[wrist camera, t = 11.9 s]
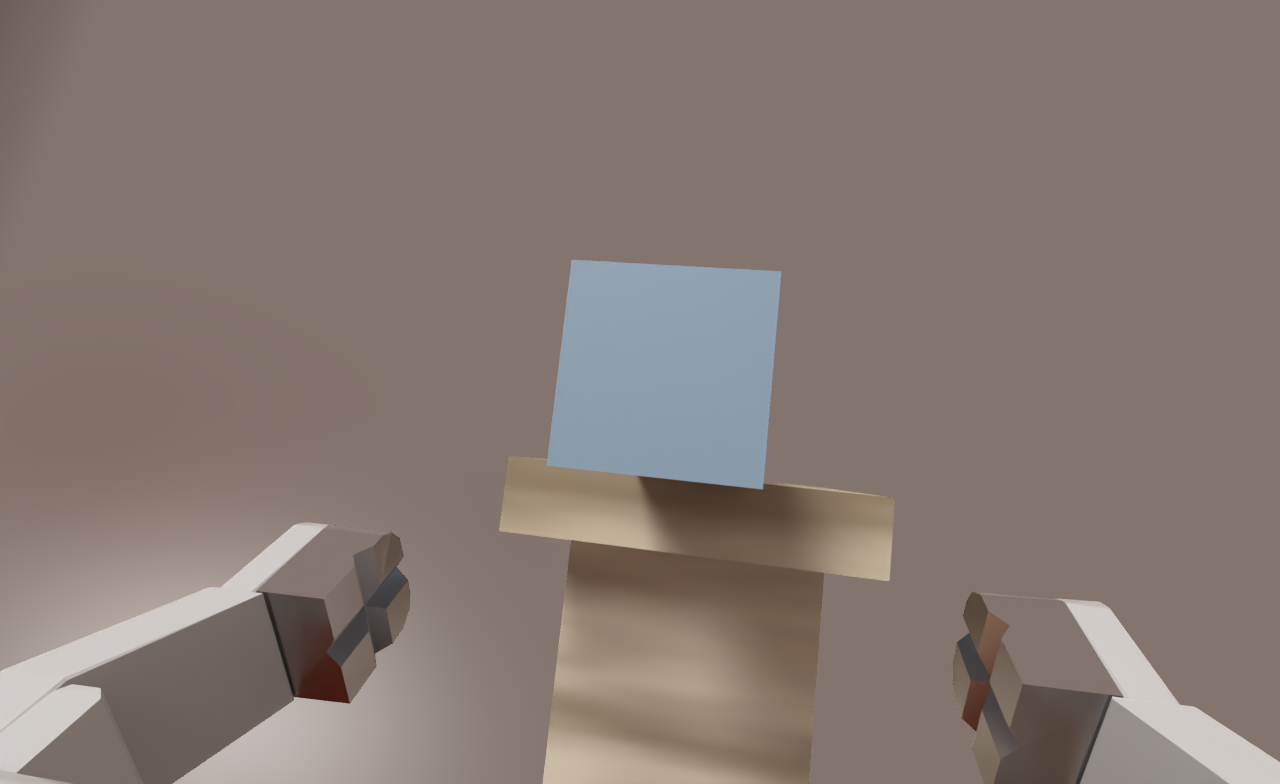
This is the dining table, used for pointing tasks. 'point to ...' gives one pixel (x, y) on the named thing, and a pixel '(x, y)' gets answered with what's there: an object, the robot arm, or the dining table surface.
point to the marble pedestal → (690, 619)
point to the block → (666, 372)
